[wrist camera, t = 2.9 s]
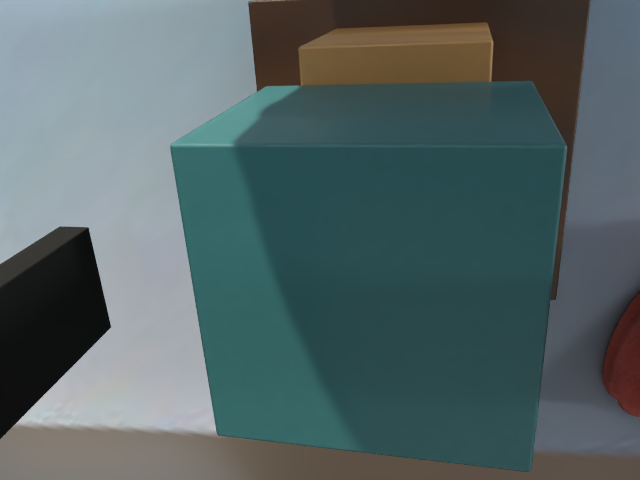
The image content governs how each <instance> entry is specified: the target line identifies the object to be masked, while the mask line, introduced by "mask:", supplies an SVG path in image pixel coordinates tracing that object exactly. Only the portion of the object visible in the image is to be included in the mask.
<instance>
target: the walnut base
mask: <svg viewBox="0 0 640 480" xmlns="http://www.w3.org/2000/svg"><path fill="white" fill-rule="evenodd" d="M590 2H591V0H254V1H249V3H248V4H249V14H250V24H251V34H252V44H253V54H254V64H255V74H256V84H257V92H258V91H259V90H261V89H263V88H264V87H266V86H301V80H300V65H299V51H298V49H299V47H300V46H302V45H304V44H307V43H309V42H311V41H313V40H315V39H317V38H319V37H321V36H323V35H325V34H327V33H329V32H331V31H333V30H335V29H340V28H364V27H388V26H411V25H435V24H459V23H483V22H486V23H488V26H489V30H490V33H491V36H492V39H493V60H492V78H491V82H498V81H532V82H533V84H534V86H535V87H536V89H537V91H538V93H539V95H540V97H541V99H542V101H543V102H544V104H545V106H546V108H547V110H548V112H549V114H550V116H551V117H552V119H553V121H554V123H555V125H556V127H557V129H558V130H559V132H560V134H561V136H562V138H563V140H564V142H565V144H566V146H567V154H566V163H565V172H564V181H563V190H562V199H561V208H560V217H559V226H558V235H557V244H556V253H555V262H554V271H553V280H552V289H551V298H550V300H555V299H556V295H557V286H558V278H559V269H560V261H561V252H562V243H563V235H564V226H565V217H566V209H567V200H568V192H569V183H570V174H571V166H572V157H573V148H574V140H575V131H576V123H577V114H578V105H579V97H580V88H581V79H582V71H583V62H584V54H585V45H586V36H587V28H588V19H589V10H590Z"/></svg>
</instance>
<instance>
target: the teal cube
mask: <svg viewBox="0 0 640 480" xmlns="http://www.w3.org/2000/svg"><path fill="white" fill-rule="evenodd" d="M170 149H171V155H172V161H173V167H174V173H175V179H176V185H177V192H178V198H179V204H180V210H181V216H182V222H183V228H184V234H185V241H186V247H187V253H188V259H189V265H190V271H191V277H192V283H193V290H194V296H195V302H196V308H197V314H198V320H199V326H200V332H201V339H202V345H203V351H204V357H205V363H206V369H207V375H208V381H209V388H210V394H211V400H212V406H213V412H214V418H215V424H216V431H217V434H218V435H219V436H228V437H236V438H245V439H253V440H262V441H271V442H278V443H287V444H296V445H305V446H313V447H321V448H329V449H338V450H346V451H354V452H363V453H371V454H381V455H388V456H398V457H405V458H414V459H423V460H431V461H439V462H448V463H457V464H464V465H473V466H482V467H490V468H499V469H507V470H515V471H524V472H530V470H531V468H532V459H533V450H534V441H535V432H536V423H537V414H538V405H539V397H540V388H541V379H542V370H543V361H544V352H545V343H546V334H547V325H548V316H549V307H550V298H551V289H552V280H553V271H554V262H555V253H556V244H557V235H558V226H559V217H560V208H561V199H562V190H563V181H564V172H565V163H566V154H567V146H566V144H565V142H564V140H563V138H562V136H561V134H560V132H559V130H558V129H557V127H556V125H555V123H554V121H553V119H552V117H551V116H550V114H549V112H548V110H547V108H546V106H545V104H544V102H543V101H542V99H541V97H540V95H539V93H538V91H537V89H536V87H535V86H534V84H533V82H532V81H498V82H449V83H401V84H352V85H304V86H266V87H264V88H263V89H261V90H259V91H258V92H256V93H254V94H253V95H251V96H250V97H248V98H246V99H245V100H243V101H241V102H240V103H238V104H236V105H235V106H233V107H231V108H230V109H228V110H226V111H225V112H223V113H221V114H220V115H218V116H216V117H215V118H213V119H212V120H210V121H208V122H207V123H205V124H203V125H202V126H200V127H198V128H197V129H195V130H193V131H192V132H190V133H188V134H187V135H185V136H183V137H182V138H180V139H178V140H177V141H175V142H174V143H172V144H171V146H170Z"/></svg>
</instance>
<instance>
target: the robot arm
mask: <svg viewBox="0 0 640 480" xmlns="http://www.w3.org/2000/svg"><path fill="white" fill-rule="evenodd" d="M110 328H111V325H110V321H109V316H108V312H107V307H106V303H105V299H104V294H103V290H102V286H101V281H100V277H99V272H98V268H97V264H96V259H95V255H94V250H93V246H92V242H91V237H90V233H89V228H86V227H59V228H57V229H55V230H54V231H52V232H51V233H49V234H47V235H46V236H44V237H43V238H41V239H40V240H38V241H36V242H35V243H33V244H32V245H30V246H29V247H27V248H25V249H24V250H22V251H21V252H19V253H18V254H16V255H14V256H13V257H11V258H10V259H8V260H6V261H5V262H3V263H2V264H0V439H1V438H2V437H3V435H5V434H6V432H7V431H8V430H10V429H11V428H12V427H13V426H14V425H15V424H16V423H17V422H18V421H19V420H20V418H21V417H22V416H23V415H24V414H25V413H26V412H27V411H28V410H29V409H30V408H31V407H32V406H33V405H34V404H35V403H36V402H37V401H38V400H39V399H40V398H41V397H42V396H43V395H44V394H45V393H46V392H47V391H48V390H49V389H50V388H51V387H52V386H53V385H54V384H55V383H56V382H57V381H58V380H59V379H60V378H61V377H62V376H63V375H64V374H65V373H66V372H67V371H68V370H69V369H70V368H71V367H72V366H73V365H74V364H75V363H76V362H77V361H78V360H79V359H80V358H81V357H82V356H83V355H84V354H85V353H86V352H87V351H88V350H89V349H90V348H91V347H92V346H93V345H94V344H95V343H96V342H97V341H98V340H99V339H100V338H101V337H102V336H103V335H104V334H105V333H106V332H107V331H108V330H109V329H110Z"/></svg>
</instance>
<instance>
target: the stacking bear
mask: <svg viewBox="0 0 640 480" xmlns="http://www.w3.org/2000/svg"><path fill="white" fill-rule="evenodd" d="M603 383H604V385H605V388H606V390H607V391H608V393H609V394H610V395H611V396H612V397H613V398H615V399H616V400H617V402H618V404H619V405H620V406H621V408H622V409H623V410H624V411H625V412H627V413H628V414H630V415H633V416H636V417H640V293H639V294H638V295H637V296H636V298H635V299H634V300H633V301H632V303H631V304H630V305H629V307H628V308H627V310H626V311H625V313H624V314H623V316H622V318H621V319H620V321H619V323H618V325H617V327H616V329H615V331H614V333H613V335H612V338H611V340H610V343H609V346H608V349H607V352H606V356H605V360H604V365H603Z"/></svg>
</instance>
